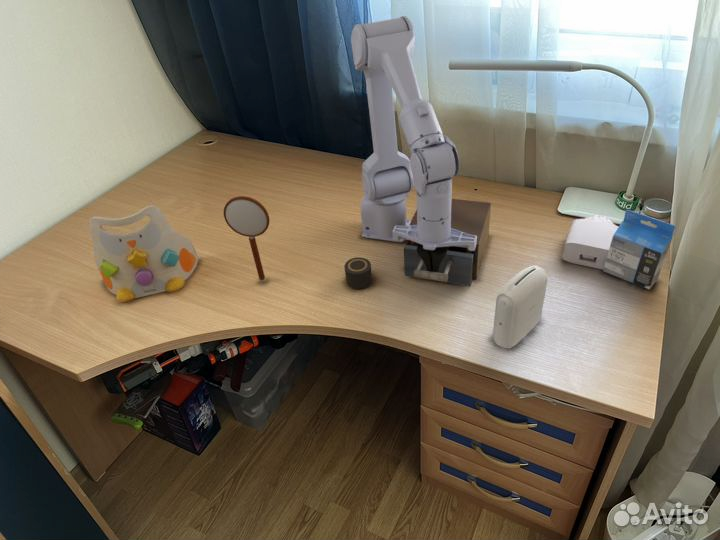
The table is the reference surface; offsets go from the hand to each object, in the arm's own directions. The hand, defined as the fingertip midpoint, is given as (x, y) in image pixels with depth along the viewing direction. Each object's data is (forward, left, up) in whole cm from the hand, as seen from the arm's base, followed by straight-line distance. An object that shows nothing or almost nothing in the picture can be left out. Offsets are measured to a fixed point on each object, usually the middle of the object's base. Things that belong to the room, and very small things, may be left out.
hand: (433, 274), depth 99 cm
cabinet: (0, +13, -5) cm, 14 cm away
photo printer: (+16, -6, -5) cm, 18 cm away
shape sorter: (-57, -11, -5) cm, 58 cm away
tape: (-15, 0, -5) cm, 16 cm away
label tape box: (+34, +14, -5) cm, 37 cm away
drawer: (0, +7, -4) cm, 8 cm away
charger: (+28, +23, -5) cm, 36 cm away
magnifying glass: (-34, -5, -5) cm, 35 cm away
